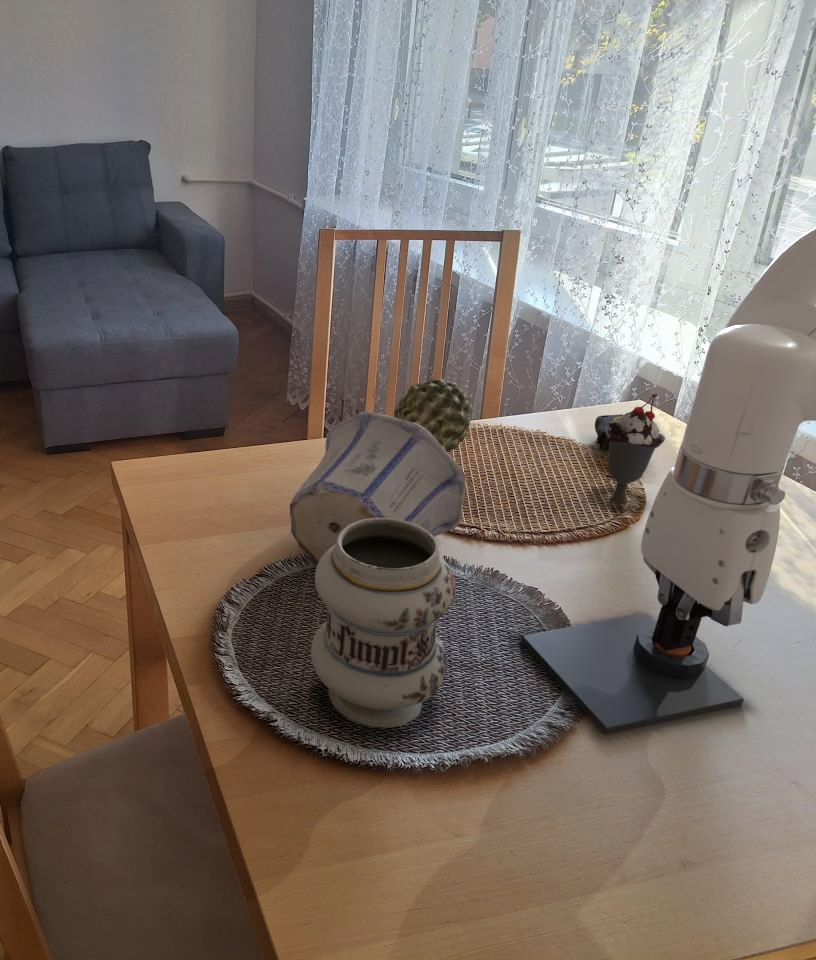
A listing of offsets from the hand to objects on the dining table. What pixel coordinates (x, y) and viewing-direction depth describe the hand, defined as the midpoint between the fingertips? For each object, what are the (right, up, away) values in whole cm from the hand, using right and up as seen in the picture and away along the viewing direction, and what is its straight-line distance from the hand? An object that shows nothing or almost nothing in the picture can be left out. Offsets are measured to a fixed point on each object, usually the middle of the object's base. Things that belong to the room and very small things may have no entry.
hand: (671, 642), depth 81 cm
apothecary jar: (-28, -6, -1) cm, 29 cm away
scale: (-4, -4, +1) cm, 5 cm away
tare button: (0, -1, +1) cm, 2 cm away
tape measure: (+16, +20, +43) cm, 50 cm away
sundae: (+9, +12, +28) cm, 32 cm away
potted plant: (-20, +9, +25) cm, 33 cm away
